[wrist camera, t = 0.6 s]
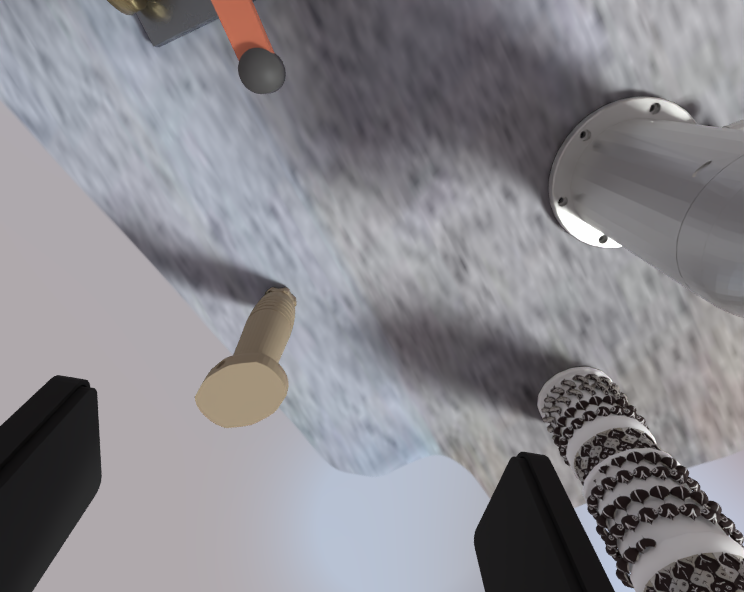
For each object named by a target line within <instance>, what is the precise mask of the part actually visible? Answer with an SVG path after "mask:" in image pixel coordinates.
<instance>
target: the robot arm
mask: <svg viewBox="0 0 744 592" xmlns="http://www.w3.org/2000/svg"><path fill="white" fill-rule="evenodd" d="M650 107H651V110H650ZM649 110H650V111H649ZM582 131H583V133H584V134H583V136H582V137H580V134H581V132H582ZM549 198H550V204H551V208H552V210H553V213H554V215H555V217H556V219H557V220H558V222H559V223H560V225H561V226H562V227H563V228H564V229H565V230H566V231H567V232H568V233H569V234H570V235H572V236H573V237H575V238H576V239H578V240H579V241H581V242H584V243H586V244H588V245H591V246H596V247H600V248H618V247H624V248H625V249H627V250H628V251H630V252H631V253H633V254H634V255H636V256H638V257H639V258H641V259H642V260H644V261H645V262H647V263H648V264H650V265H651V266H653V267H655V268H656V269H658V270H659V271H661V272H662V273H664V274H665V275H667V276H668V277H670V278H672V279H673V280H675V281H676V282H678V283H679V284H681V285H682V286H684V287H685V288H687V289H688V290H690V291H692V292H693V293H695V294H696V295H698V296H700V297H702V298H703V299H705V300H706V301H708V302H709V303H711V304H713V305H714V306H716V307H718V308H720V309H722V310H724V311H726V312H728V313H731V314H733V315H736V316H739V317H742V318H744V120H740V121H737V122H735V123H732V124H729V125H726V126H724V127H722V128H721V127H713V126H705V125H697V123H696V121H695V120H694V119H693V118H692V116H691V115H690V114H689V113H688V112H687V111H686V110H685V109H683V108H682V107H680V106H679V105H677V104H676V103H673V102H671V101H668V100H665V99H662V98H654V97H631V98H626V99H620V100H617V101H615V102H612V103H610V104H607V105H605V106H603V107H601V108H599V109H598V110H596V111H594V112H593V113H591V114H590V115H588V116H587V117H586V118H585V119H584V120H583V121H581V122H580V123H579V124H578V125H577V126H576V127H575V128H574V129H573V131H572V132H571V133H570V134H569V135H568V136H567V138H566V139H565V141H564V142H563V144H562V146H561V147H560V149H559V150H558V153H557V155H556V157H555V160H554V162H553V165H552V169H551V173H550V178H549ZM559 198H561V201H560V202H558V200H559ZM600 236H601V237H600ZM599 237H600V238H599ZM101 476H102V475H101V457H100V437H99V420H98V401H97V391H96V389H95V388H90V384H89V382H88V380H84V379H78V378H72V377H66V376H60V375H57V376H54V377H53V378H51V379H50V380H49V381H48V382H47V383H46V384H45V385H44V386H43V387H42V388H41V389H39V390H38V391H37V392H36V393H35V394H34V395H33V396H32V397H31V398H30V399H29V400H28V401H27V402H26V403H25V404H24V405H22V406H21V407H20V408H19V409H18V410H17V411H16V412H15V413H14V414H13V415H12V416H11V417H10V418H9V419H8V420H7V421H5V422H4V423H3V424H2V425H1V426H0V592H32V591H33V590H34V588H35V587H36V585H37V583H38V582H39V581H40V579H41V577H42V576H43V574H44V573H45V571H46V570H47V568H48V567H49V565H50V563H51V562H52V561H53V559H54V558H55V556H56V555H57V553H58V552H59V550H60V548H61V547H62V545H63V544H64V542H65V541H66V539H67V538H68V536H69V534H70V533H71V532H72V530H73V529H74V527H75V526H76V524H77V522H78V521H79V519H80V518H81V516H82V515H83V513H84V512H85V510H86V509H87V507H88V505H89V504H90V503H91V501H92V500H93V498H94V496H95V495H96V493H97V491H98V489H99V486H100V483H101ZM474 546H475V551H476V555H477V559H478V564H479V567H480V572H481V576H482V580H483V585H484V589H485V592H615V591H614V589H613V587H612V585H611V583H610V581H609V579H608V577H607V575H606V573H605V571H604V569H603V567H602V564H601V562H600V560H599V558H598V556H597V554H596V552H595V550H594V548H593V546H592V544H591V542H590V540H589V538H588V536H587V534H586V532H585V530H584V528H583V526H582V524H581V522H580V520H579V518H578V516H577V514H576V512H575V510H574V508H573V506H572V504H571V502H570V500H569V498H568V496H567V494H566V492H565V489H564V487H563V485H562V483H561V481H560V479H559V477H558V475H557V473H556V471H555V469H554V467H553V465H552V463H551V461H550V459H549V458H548V457H547V456H545V455H540V454H534V453H528V452H520V453H519V454H518V455H517V457H512V458H511V459H510V460H509V462H508V465H507V467H506V469H505V471H504V473H503V475H502V477H501V479H500V481H499V483H498V485H497V487H496V489H495V491H494V493H493V495H492V497H491V500H490V502H489V504H488V506H487V508H486V510H485V512H484V514H483V516H482V518H481V520H480V522H479V524H478V526H477V528H476V531H475V535H474Z"/></svg>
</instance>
